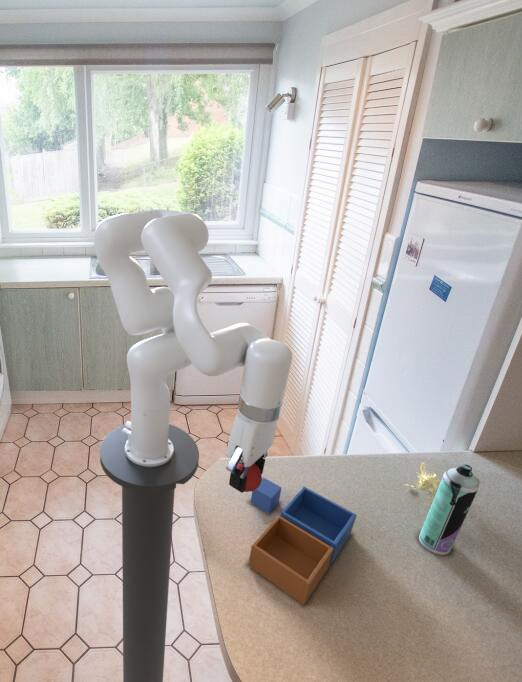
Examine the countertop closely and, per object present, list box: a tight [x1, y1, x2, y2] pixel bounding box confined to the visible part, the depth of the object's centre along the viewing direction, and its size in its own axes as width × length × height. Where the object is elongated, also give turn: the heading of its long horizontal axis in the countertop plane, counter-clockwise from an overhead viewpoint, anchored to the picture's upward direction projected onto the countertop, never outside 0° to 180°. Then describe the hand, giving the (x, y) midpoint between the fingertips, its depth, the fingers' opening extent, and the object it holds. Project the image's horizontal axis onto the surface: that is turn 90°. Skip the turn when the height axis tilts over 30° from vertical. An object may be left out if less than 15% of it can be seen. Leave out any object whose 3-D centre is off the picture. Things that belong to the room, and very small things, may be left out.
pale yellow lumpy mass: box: [403, 458, 442, 505], centre depth 100 cm, size 11×15×9 cm
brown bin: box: [247, 514, 334, 606], centre depth 85 cm, size 11×10×6 cm
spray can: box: [418, 464, 481, 556], centre depth 87 cm, size 6×6×20 cm
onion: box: [237, 463, 263, 493], centre depth 90 cm, size 6×6×8 cm
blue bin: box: [279, 486, 357, 566], centre depth 92 cm, size 11×10×6 cm
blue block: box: [250, 476, 283, 514], centre depth 100 cm, size 4×4×4 cm
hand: (245, 478), depth 90 cm, fingers closed on onion, 5 cm apart
